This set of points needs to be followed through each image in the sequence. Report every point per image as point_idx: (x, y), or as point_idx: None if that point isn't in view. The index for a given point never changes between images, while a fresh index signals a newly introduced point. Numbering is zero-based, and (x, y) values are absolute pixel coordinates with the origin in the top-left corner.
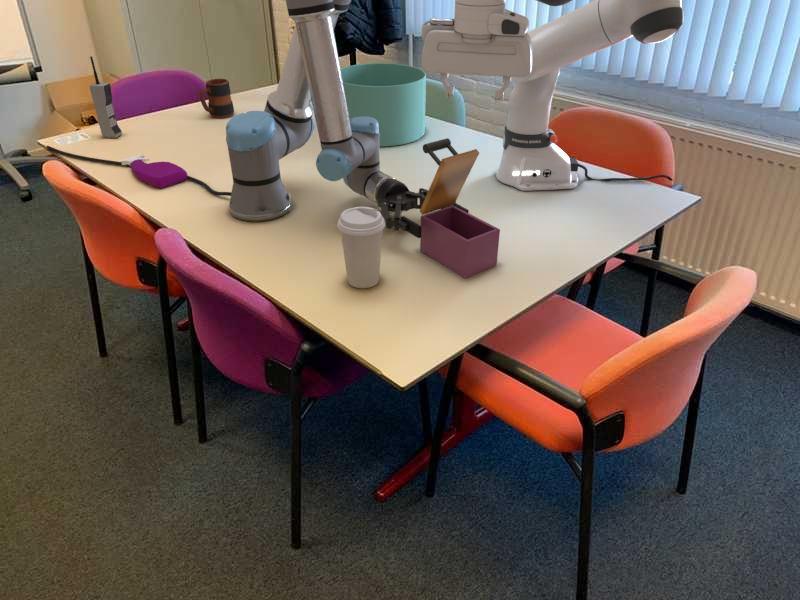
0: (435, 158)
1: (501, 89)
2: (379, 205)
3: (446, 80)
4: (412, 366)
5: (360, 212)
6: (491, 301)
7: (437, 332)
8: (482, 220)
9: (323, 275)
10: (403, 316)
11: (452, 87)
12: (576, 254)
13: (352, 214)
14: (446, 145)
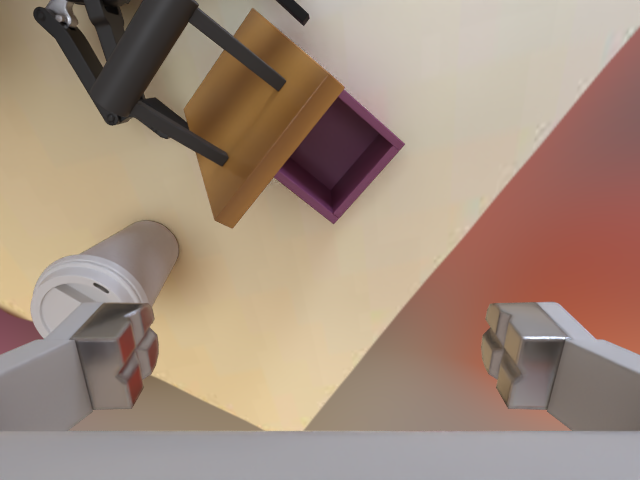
0: (175, 139)
1: (569, 426)
2: (50, 32)
3: (11, 417)
4: (295, 416)
5: (70, 299)
6: (385, 259)
7: (312, 351)
8: (357, 103)
9: (72, 243)
10: (253, 326)
11: (111, 373)
12: (572, 34)
13: (57, 312)
14: (183, 29)
